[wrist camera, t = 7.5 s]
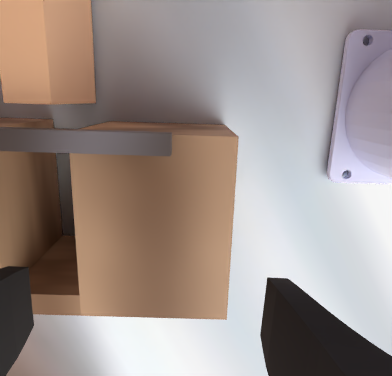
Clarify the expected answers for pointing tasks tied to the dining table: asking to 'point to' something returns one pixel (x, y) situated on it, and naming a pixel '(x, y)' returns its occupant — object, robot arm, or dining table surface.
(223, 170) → the wooden block
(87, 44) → the tall wooden plank
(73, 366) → the dining table surface
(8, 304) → the robot arm
